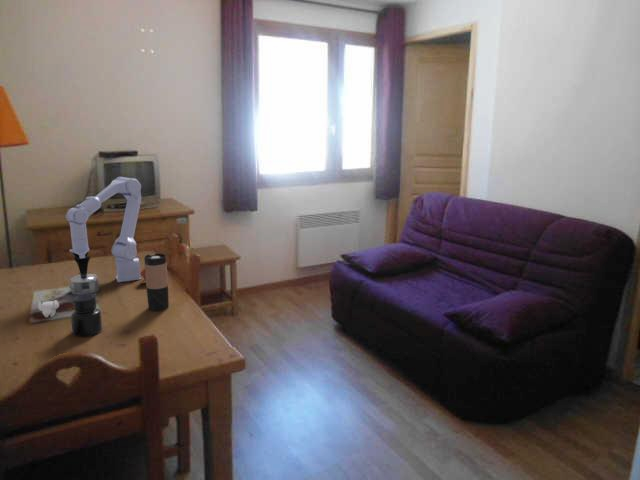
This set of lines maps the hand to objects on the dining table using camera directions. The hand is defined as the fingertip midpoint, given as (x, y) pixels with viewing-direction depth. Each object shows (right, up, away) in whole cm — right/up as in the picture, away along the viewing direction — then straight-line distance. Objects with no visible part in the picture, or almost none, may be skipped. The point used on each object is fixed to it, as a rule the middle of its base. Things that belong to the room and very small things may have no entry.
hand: (83, 271), depth 201 cm
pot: (-1, -8, +4) cm, 9 cm away
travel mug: (+35, -13, -14) cm, 40 cm away
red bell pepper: (+22, -6, +13) cm, 26 cm away
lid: (0, -4, +1) cm, 4 cm away
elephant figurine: (-1, -15, -23) cm, 27 cm away
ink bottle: (+18, -18, -35) cm, 43 cm away
